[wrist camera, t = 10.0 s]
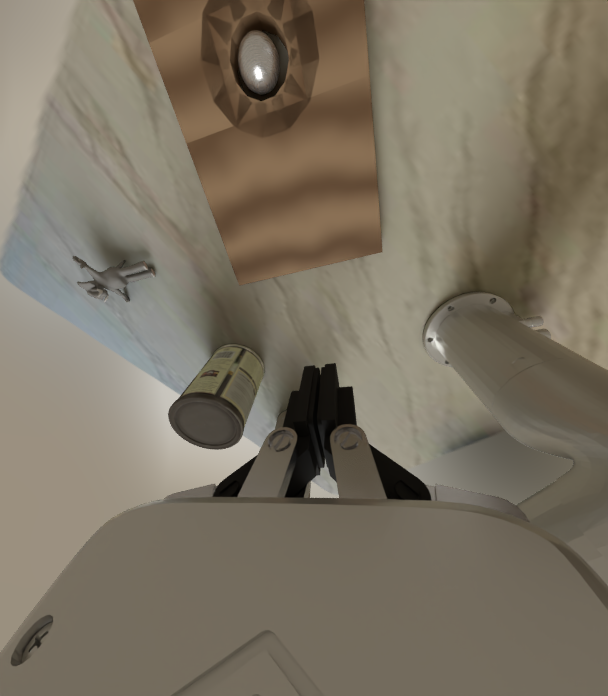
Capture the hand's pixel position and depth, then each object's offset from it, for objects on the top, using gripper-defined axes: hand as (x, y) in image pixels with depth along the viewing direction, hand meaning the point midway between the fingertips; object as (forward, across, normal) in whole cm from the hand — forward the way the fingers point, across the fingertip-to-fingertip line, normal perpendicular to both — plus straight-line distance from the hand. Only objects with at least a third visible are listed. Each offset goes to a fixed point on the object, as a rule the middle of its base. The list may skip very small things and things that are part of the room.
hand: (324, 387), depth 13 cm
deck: (+25, +4, -17) cm, 30 cm away
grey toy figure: (+24, +31, -7) cm, 40 cm away
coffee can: (+25, +20, +13) cm, 34 cm away
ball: (+23, +4, -22) cm, 32 cm away
